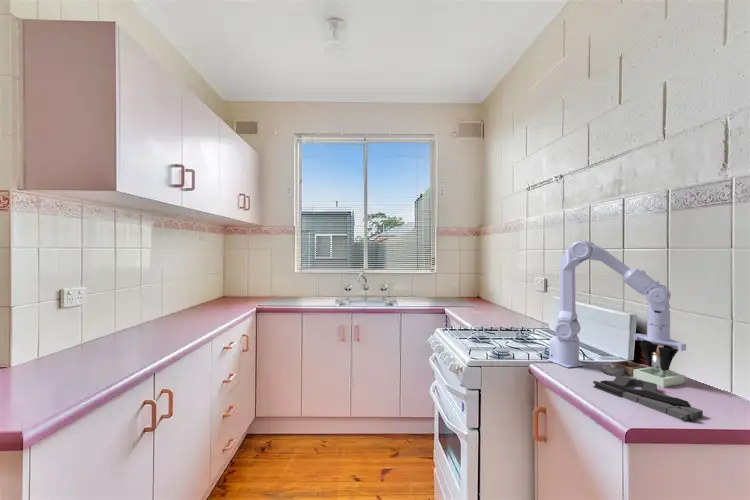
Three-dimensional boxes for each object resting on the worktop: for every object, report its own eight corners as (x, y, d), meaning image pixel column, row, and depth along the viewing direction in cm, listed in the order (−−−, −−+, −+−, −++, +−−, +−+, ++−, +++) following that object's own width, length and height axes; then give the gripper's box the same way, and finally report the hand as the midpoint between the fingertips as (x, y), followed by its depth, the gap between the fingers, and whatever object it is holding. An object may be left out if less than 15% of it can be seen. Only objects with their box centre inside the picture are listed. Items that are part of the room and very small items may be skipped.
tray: (633, 377, 121) (633, 369, 121) (653, 374, 124) (653, 366, 124) (663, 387, 112) (663, 379, 112) (684, 383, 115) (684, 375, 115)
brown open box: (597, 371, 127) (597, 362, 127) (626, 366, 131) (626, 358, 131) (616, 377, 120) (616, 369, 120) (647, 373, 125) (647, 364, 125)
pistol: (625, 374, 119) (590, 380, 114) (725, 406, 95) (687, 415, 90) (625, 381, 119) (590, 387, 114) (725, 415, 95) (687, 425, 90)
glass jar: (648, 375, 119) (648, 351, 119) (656, 374, 120) (656, 350, 120) (660, 379, 116) (660, 354, 116) (668, 378, 117) (668, 353, 117)
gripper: (693, 328, 112) (693, 373, 112) (644, 319, 126) (644, 360, 126) (676, 330, 110) (676, 376, 110) (629, 320, 124) (628, 362, 124)
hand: (658, 368), depth 118 cm, fingers closed on glass jar, 3 cm apart
